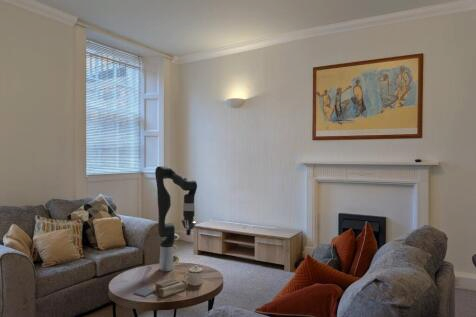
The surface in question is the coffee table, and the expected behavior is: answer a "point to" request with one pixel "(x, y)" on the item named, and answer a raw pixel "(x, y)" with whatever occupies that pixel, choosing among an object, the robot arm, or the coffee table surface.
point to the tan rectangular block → (165, 283)
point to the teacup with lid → (195, 276)
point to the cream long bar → (172, 289)
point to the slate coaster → (144, 292)
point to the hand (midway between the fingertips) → (188, 235)
